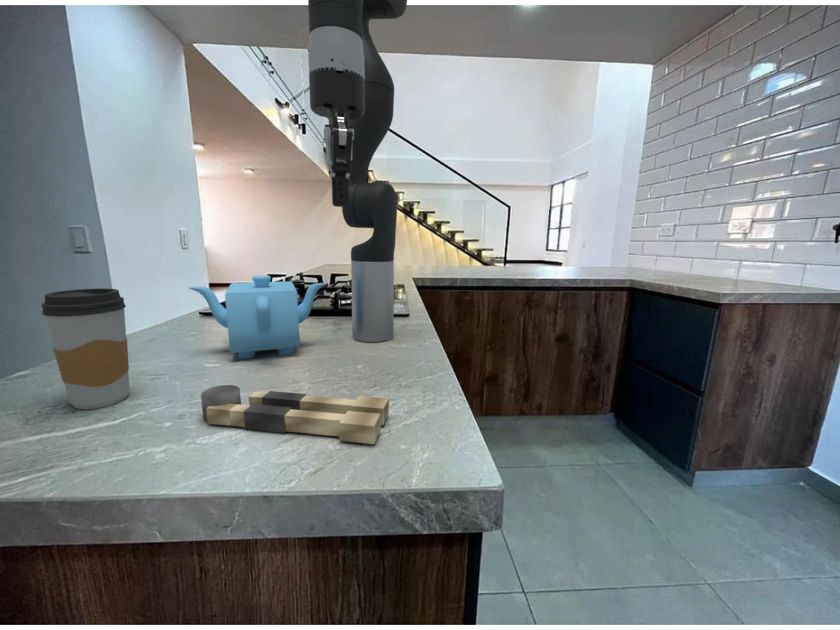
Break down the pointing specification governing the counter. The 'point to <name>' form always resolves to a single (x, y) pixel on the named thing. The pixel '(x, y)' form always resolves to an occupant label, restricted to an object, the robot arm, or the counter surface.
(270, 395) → the tong arm
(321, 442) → the counter surface
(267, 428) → the tongs frame
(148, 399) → the counter surface
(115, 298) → the coffee cup
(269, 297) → the teakettle
